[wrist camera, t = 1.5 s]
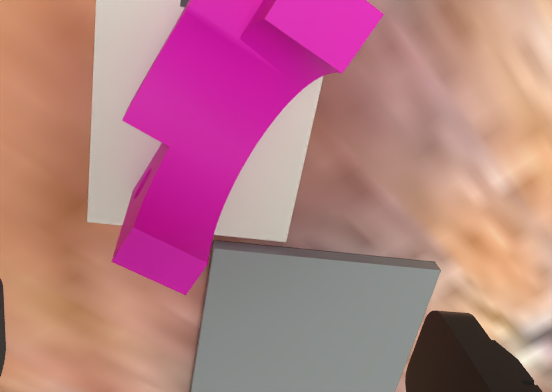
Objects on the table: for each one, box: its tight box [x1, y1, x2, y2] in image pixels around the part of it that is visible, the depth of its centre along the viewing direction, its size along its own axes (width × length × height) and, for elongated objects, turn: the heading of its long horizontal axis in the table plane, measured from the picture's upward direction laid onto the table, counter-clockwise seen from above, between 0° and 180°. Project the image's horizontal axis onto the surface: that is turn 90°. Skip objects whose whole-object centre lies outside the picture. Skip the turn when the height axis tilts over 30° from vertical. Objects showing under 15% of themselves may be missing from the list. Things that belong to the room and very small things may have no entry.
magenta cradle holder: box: [112, 0, 384, 295], centre depth 24 cm, size 15×6×8 cm, turn 146°
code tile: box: [87, 0, 323, 242], centre depth 28 cm, size 12×18×1 cm, turn 169°
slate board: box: [190, 240, 441, 392], centre depth 37 cm, size 15×21×1 cm
